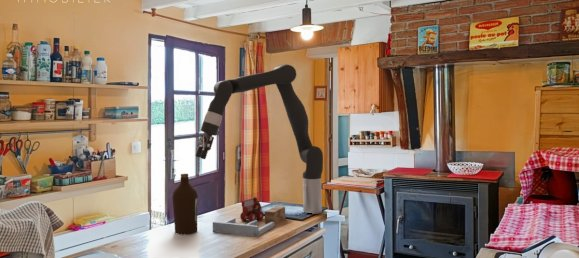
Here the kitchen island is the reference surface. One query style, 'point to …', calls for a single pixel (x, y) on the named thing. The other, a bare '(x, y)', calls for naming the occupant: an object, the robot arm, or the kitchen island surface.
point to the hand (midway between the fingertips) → (200, 157)
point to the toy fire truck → (251, 210)
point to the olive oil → (185, 207)
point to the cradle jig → (241, 227)
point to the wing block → (275, 215)
